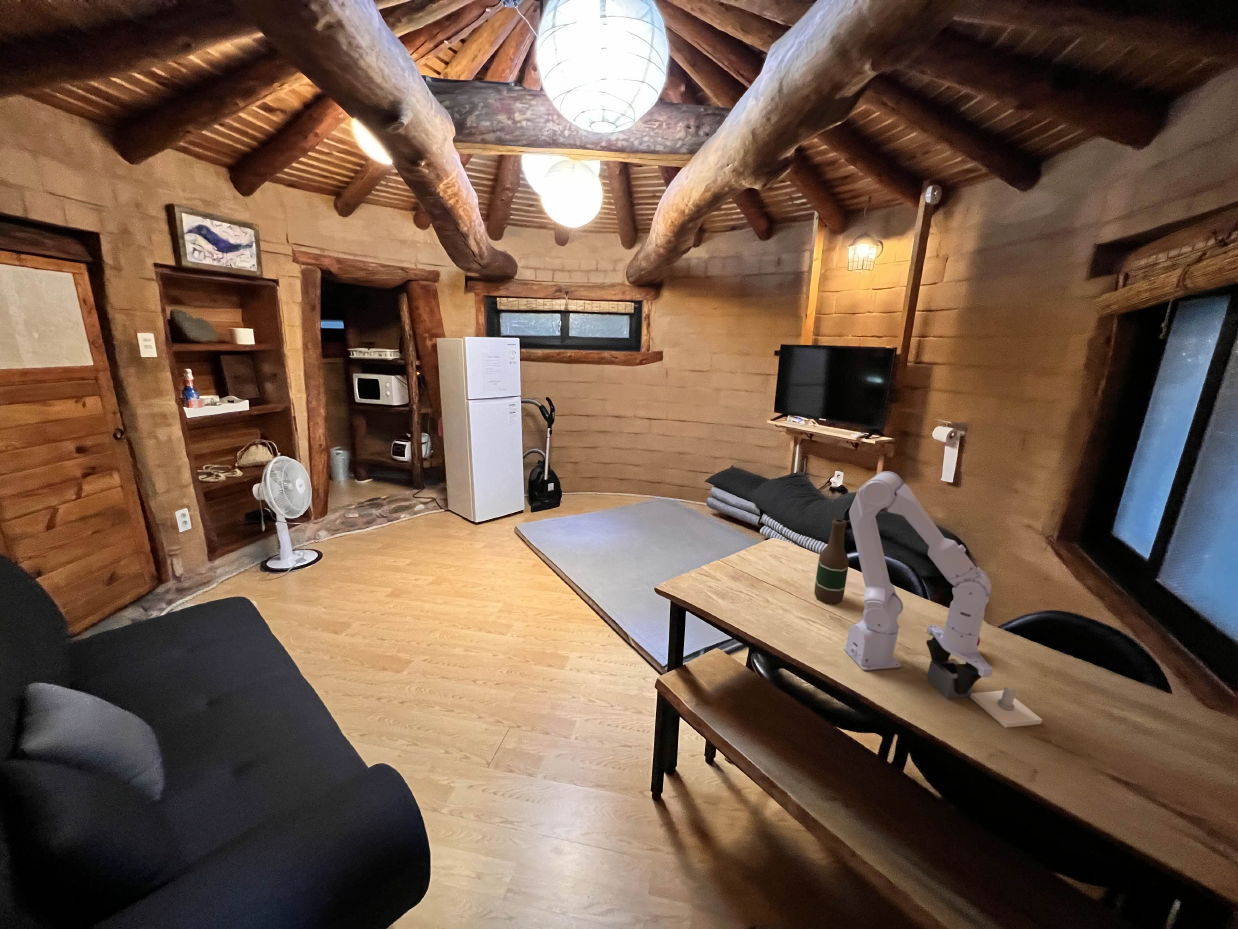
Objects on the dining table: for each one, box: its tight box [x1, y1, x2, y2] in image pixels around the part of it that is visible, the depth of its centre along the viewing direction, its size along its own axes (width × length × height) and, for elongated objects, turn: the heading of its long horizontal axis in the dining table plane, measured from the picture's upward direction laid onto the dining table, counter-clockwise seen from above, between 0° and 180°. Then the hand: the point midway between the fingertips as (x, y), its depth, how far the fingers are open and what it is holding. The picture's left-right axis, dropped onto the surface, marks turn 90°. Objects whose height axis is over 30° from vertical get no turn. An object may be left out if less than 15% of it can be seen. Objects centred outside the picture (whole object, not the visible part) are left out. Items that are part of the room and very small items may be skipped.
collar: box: [926, 658, 975, 699], centre depth 101 cm, size 6×6×5 cm
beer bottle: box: [813, 518, 850, 606], centre depth 133 cm, size 8×8×24 cm
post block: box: [970, 685, 1043, 729], centre depth 95 cm, size 8×8×5 cm
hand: (949, 682), depth 101 cm, fingers closed on collar, 6 cm apart
